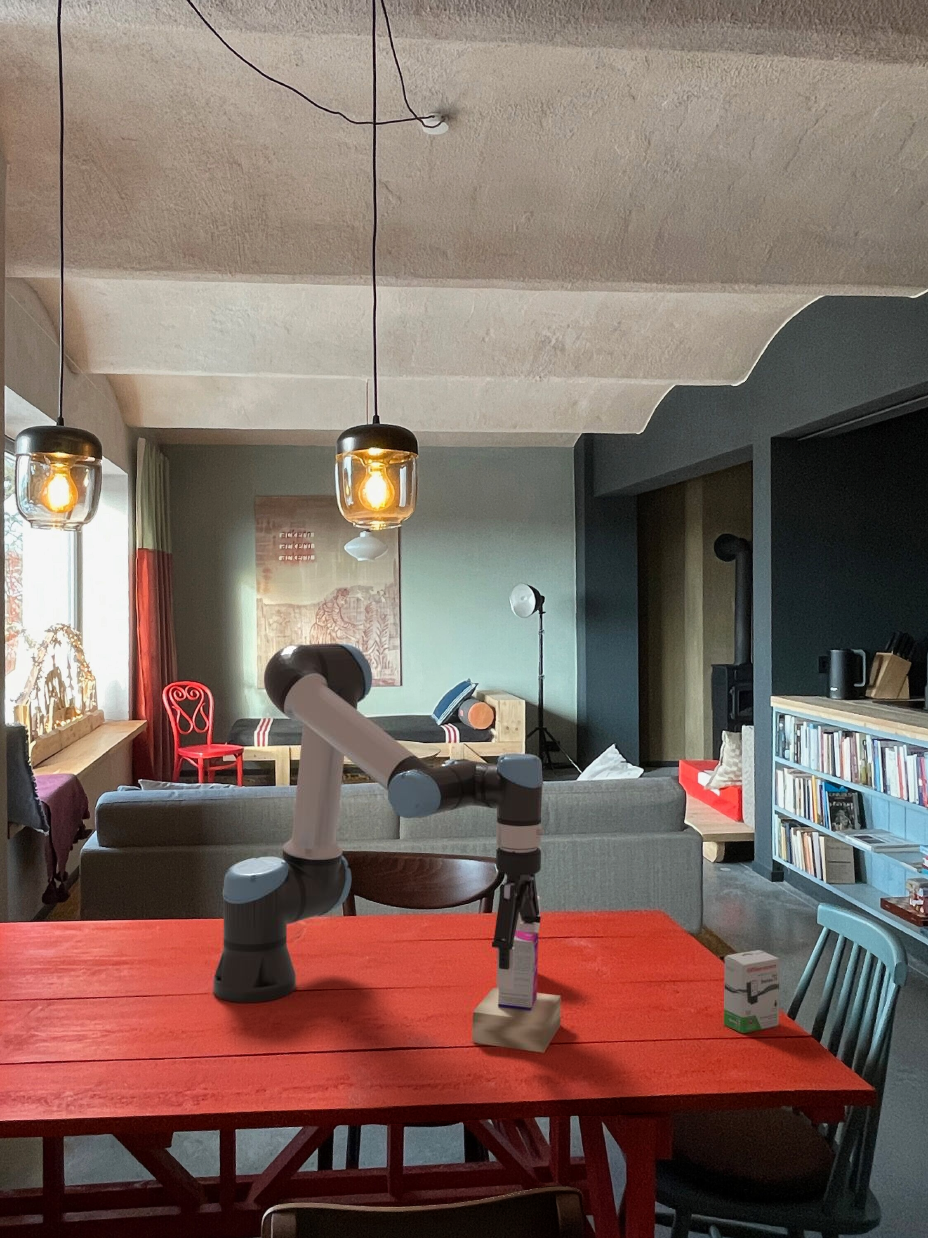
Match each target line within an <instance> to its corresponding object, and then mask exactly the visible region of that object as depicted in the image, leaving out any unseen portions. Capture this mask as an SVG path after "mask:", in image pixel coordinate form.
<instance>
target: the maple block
mask: <svg viewBox="0 0 928 1238" xmlns="http://www.w3.org/2000/svg"><path fill="white" fill-rule="evenodd" d="M498 996H499V987H493V988H492V989H491V990H490V991H489V992H488V994H487V995H486V996H485V997H484V998H483V999H482V1001H481V1002H480V1003H479V1004H478V1005H477V1007H475V1008H474V1010H473V1011H472V1043H473V1044H481V1045H487V1046H492V1047H493V1046H494V1047H495V1046H496V1047H500V1048H501V1047H502V1048H508V1049H514V1050H515V1049H516V1050H524V1051H530V1052H537V1053H542V1054H543V1053H545V1051H546V1049H547V1048H548V1046H549V1045H550V1043H551V1042H552V1040H553V1039H554V1037H555V1035H556V1033H557V1032H558V1030H559V1029H560V1027H561V1026H562V1025H561V1024H562V1023H561V1020H562V1019H561V1018H562V1017H561V1015H562V1013H561V1012H562V1010H561V1009H562V1002H561V1001H562V995H557V994H548V993H539V992H537V999H536V1000H535V1002H534V1004H533V1006H532V1009H531V1010H530V1011H529V1010H519V1009H509V1008H499V1007H498Z"/></svg>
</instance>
